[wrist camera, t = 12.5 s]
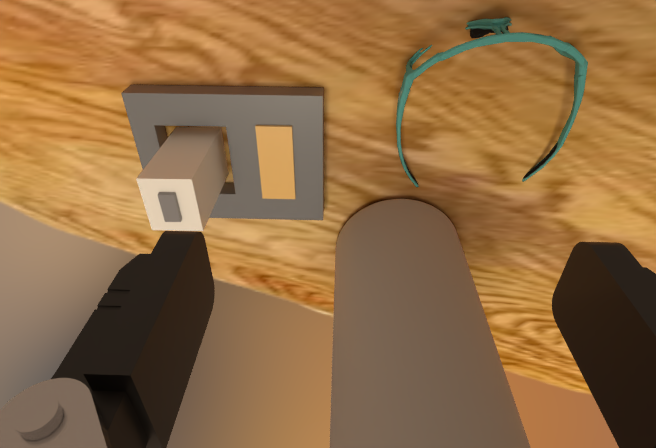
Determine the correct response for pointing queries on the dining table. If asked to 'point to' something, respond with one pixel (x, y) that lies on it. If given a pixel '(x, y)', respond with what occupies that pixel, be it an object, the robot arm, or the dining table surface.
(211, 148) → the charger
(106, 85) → the dining table surface
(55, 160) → the dining table surface
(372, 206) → the cylinder vase
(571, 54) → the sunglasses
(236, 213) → the plate
